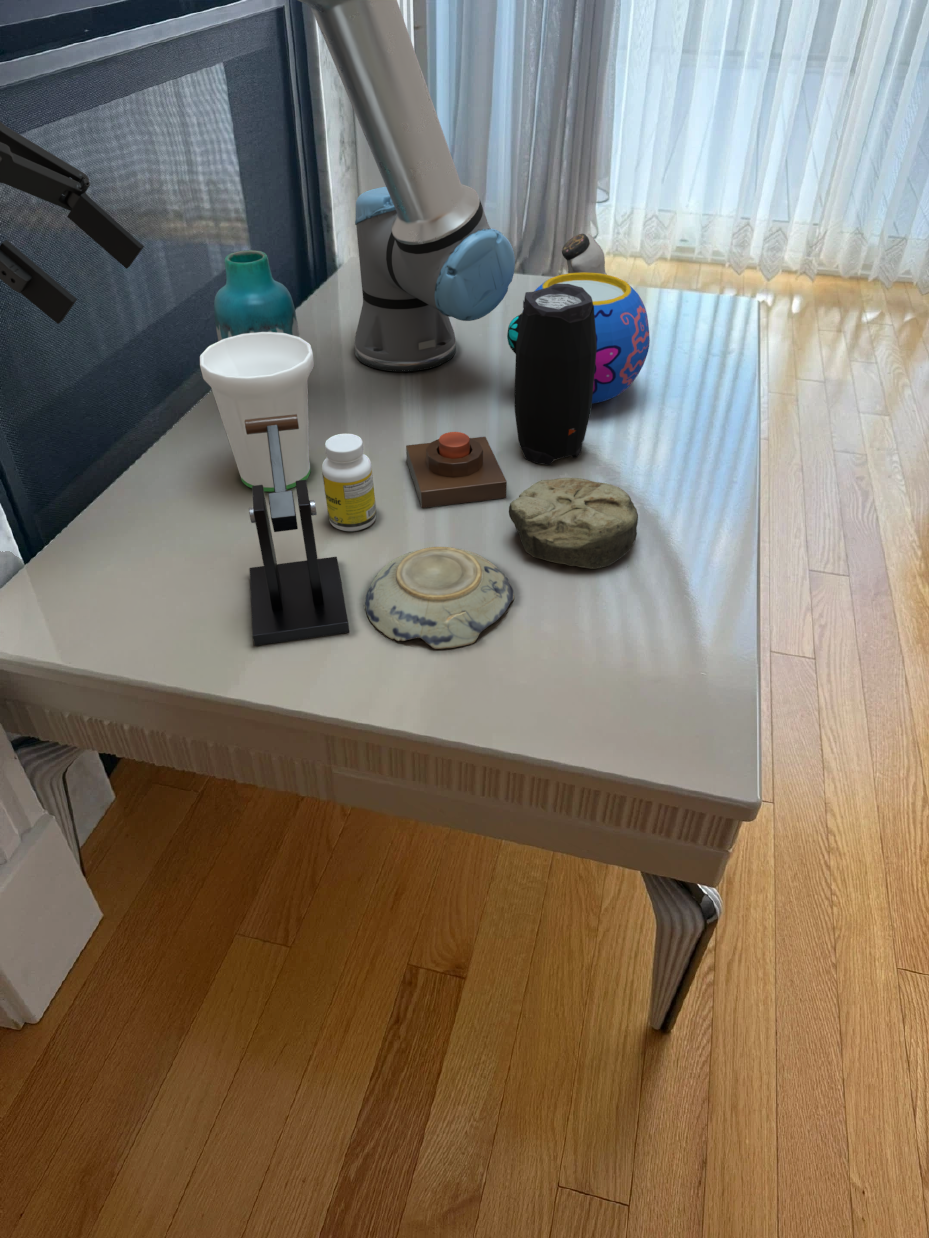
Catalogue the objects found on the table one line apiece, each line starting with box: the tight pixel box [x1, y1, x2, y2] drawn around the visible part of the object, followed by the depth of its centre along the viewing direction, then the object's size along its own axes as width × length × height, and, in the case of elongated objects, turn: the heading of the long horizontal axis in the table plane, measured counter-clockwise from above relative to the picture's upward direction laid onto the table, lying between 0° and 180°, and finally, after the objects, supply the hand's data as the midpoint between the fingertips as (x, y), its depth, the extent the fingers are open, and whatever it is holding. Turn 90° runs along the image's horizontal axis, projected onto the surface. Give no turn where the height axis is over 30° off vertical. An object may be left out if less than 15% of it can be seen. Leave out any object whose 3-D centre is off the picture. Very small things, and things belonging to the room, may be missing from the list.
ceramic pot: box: [506, 272, 651, 405], centre depth 120 cm, size 18×18×15 cm
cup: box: [199, 332, 315, 493], centre depth 104 cm, size 12×12×15 cm
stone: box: [508, 477, 639, 570], centre depth 97 cm, size 13×13×5 cm
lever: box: [245, 414, 299, 533], centre depth 85 cm, size 12×5×2 cm, turn 12°
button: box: [438, 431, 471, 459], centre depth 105 cm, size 4×4×2 cm
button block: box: [405, 436, 507, 509], centre depth 107 cm, size 11×10×4 cm
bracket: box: [248, 480, 350, 647], centre depth 86 cm, size 11×9×13 cm
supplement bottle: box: [321, 433, 377, 532], centre depth 98 cm, size 5×5×10 cm
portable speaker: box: [513, 284, 597, 466], centre depth 107 cm, size 9×9×20 cm
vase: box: [213, 249, 300, 342], centre depth 119 cm, size 11×11×19 cm
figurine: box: [561, 233, 608, 275], centre depth 135 cm, size 9×10×15 cm
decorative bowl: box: [364, 546, 515, 650], centre depth 89 cm, size 15×4×15 cm
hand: (104, 283), depth 80 cm, fingers open, 13 cm apart
